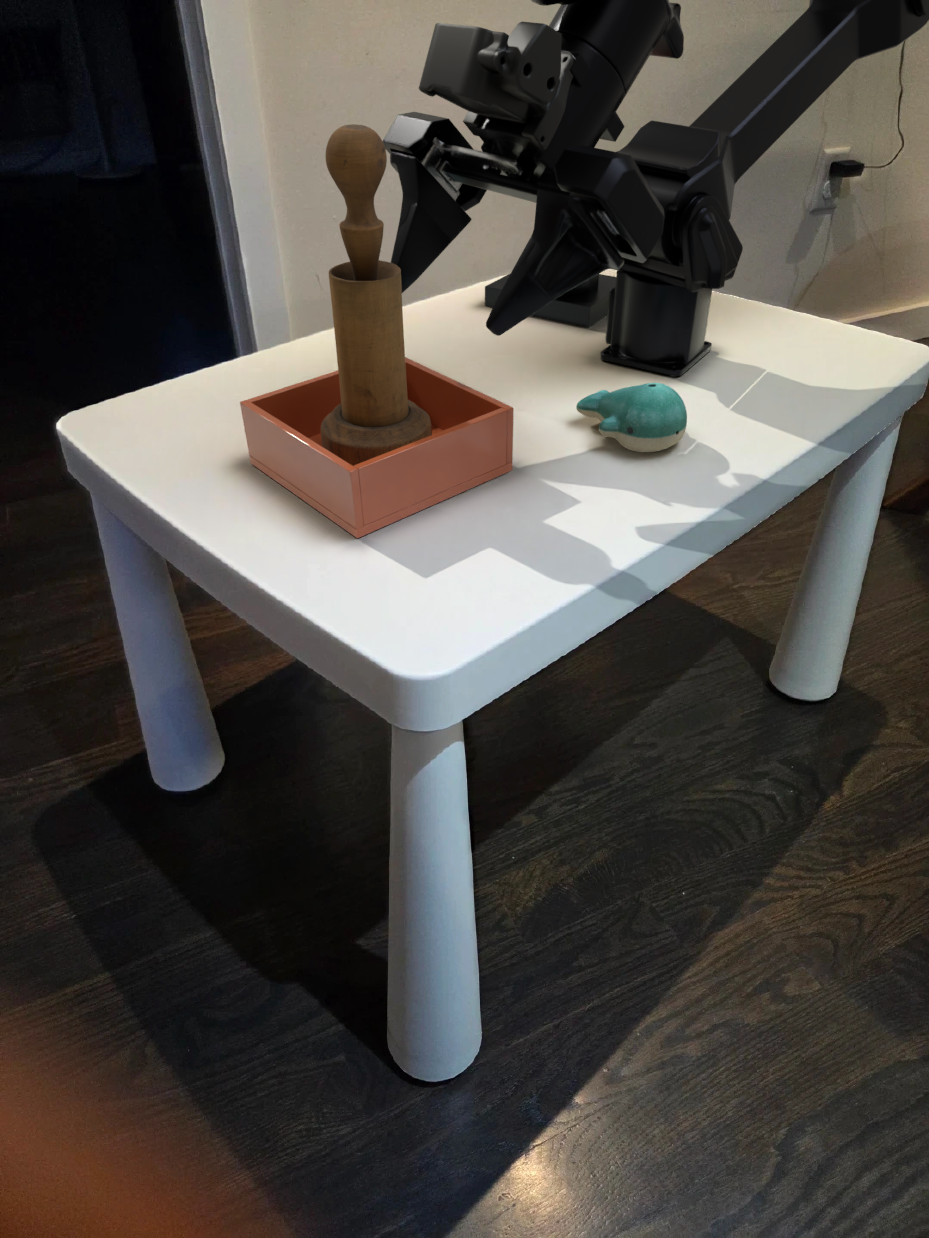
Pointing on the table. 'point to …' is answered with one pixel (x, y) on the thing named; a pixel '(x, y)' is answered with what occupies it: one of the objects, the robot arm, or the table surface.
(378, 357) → the mortar and pestle
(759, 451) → the table surface
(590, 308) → the control block
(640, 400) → the whale figurine
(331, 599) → the table surface
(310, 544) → the table surface
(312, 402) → the orange square tray
